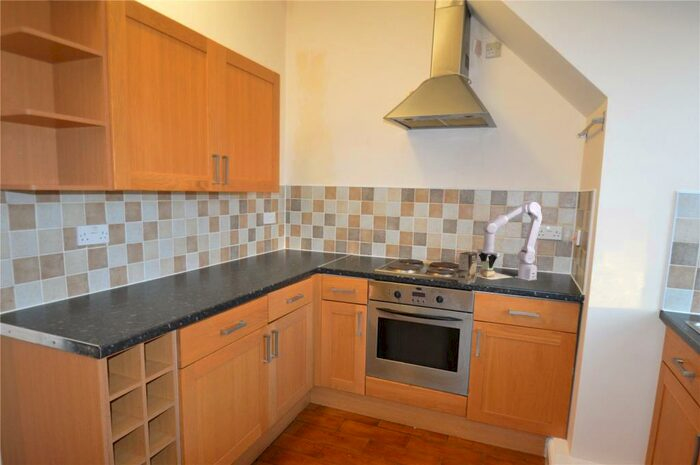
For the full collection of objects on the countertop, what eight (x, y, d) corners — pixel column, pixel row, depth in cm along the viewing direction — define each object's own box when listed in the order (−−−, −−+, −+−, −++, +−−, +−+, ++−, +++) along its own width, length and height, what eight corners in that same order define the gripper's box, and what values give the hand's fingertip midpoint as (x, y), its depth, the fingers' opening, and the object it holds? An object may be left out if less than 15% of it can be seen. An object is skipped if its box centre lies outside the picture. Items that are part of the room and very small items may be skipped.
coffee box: (468, 284, 214) (470, 254, 212) (457, 282, 218) (459, 253, 216) (475, 282, 221) (477, 252, 219) (464, 280, 225) (466, 251, 223)
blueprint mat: (512, 277, 235) (512, 276, 235) (490, 280, 226) (490, 279, 225) (490, 272, 248) (490, 271, 248) (469, 274, 239) (469, 273, 239)
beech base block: (494, 277, 233) (494, 271, 232) (486, 277, 230) (487, 271, 229) (486, 274, 238) (486, 269, 237) (478, 275, 235) (479, 269, 234)
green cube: (493, 269, 233) (493, 262, 232) (487, 270, 230) (488, 262, 230) (486, 268, 236) (487, 260, 236) (481, 268, 234) (482, 261, 234)
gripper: (474, 242, 236) (472, 265, 237) (494, 245, 223) (492, 270, 225) (482, 241, 239) (481, 264, 241) (502, 245, 227) (501, 269, 228)
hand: (487, 267), depth 233 cm, fingers closed on green cube, 4 cm apart
